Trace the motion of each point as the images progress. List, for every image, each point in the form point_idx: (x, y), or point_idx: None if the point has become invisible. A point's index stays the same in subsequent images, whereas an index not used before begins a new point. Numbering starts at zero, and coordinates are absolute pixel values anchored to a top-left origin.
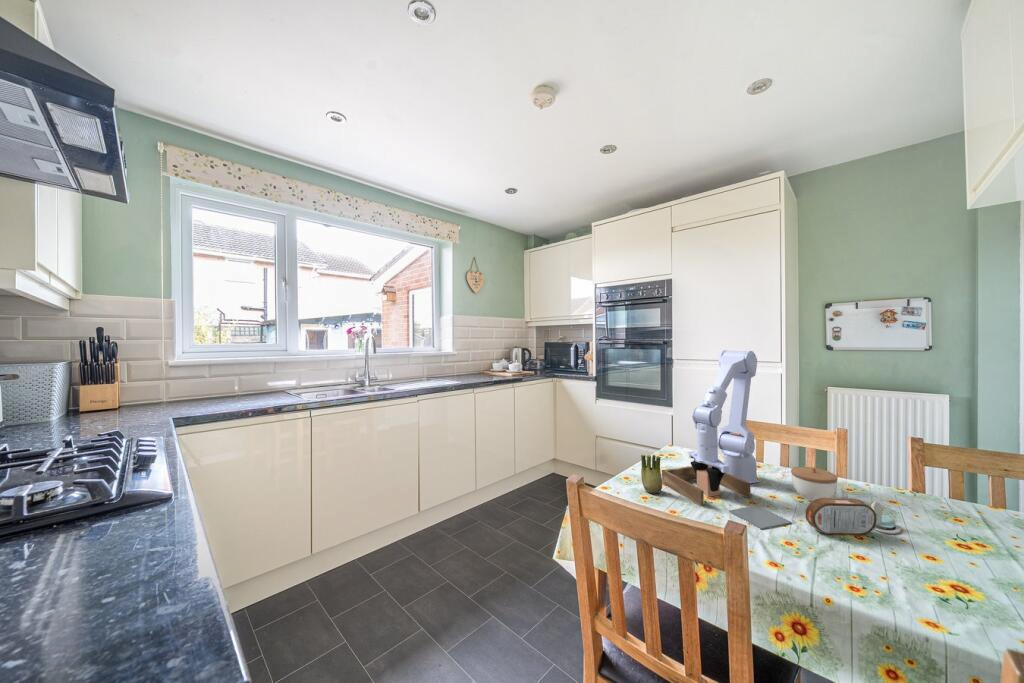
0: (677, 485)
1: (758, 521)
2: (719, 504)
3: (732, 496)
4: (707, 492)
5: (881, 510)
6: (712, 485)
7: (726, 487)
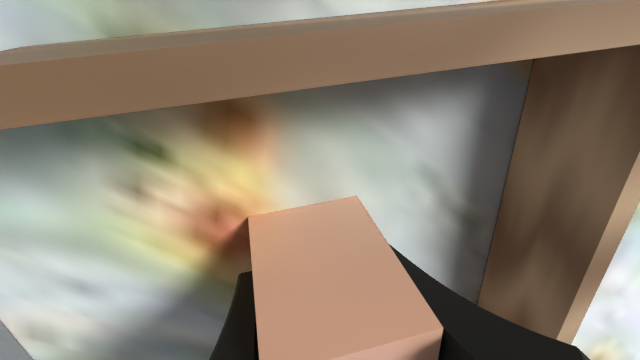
0: (405, 14)
1: None
2: (92, 228)
3: None
4: (252, 235)
5: None
6: (228, 315)
7: None
